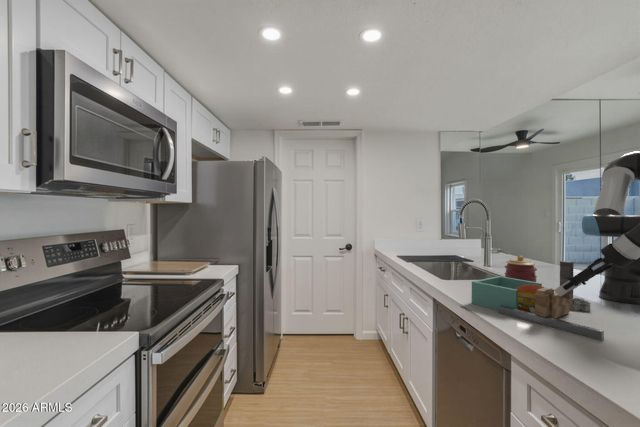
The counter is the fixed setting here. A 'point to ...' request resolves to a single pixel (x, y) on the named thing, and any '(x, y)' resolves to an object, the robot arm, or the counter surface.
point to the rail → (553, 322)
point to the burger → (527, 297)
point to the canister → (521, 269)
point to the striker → (555, 296)
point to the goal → (497, 292)
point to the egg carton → (579, 304)
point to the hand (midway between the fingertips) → (559, 292)
